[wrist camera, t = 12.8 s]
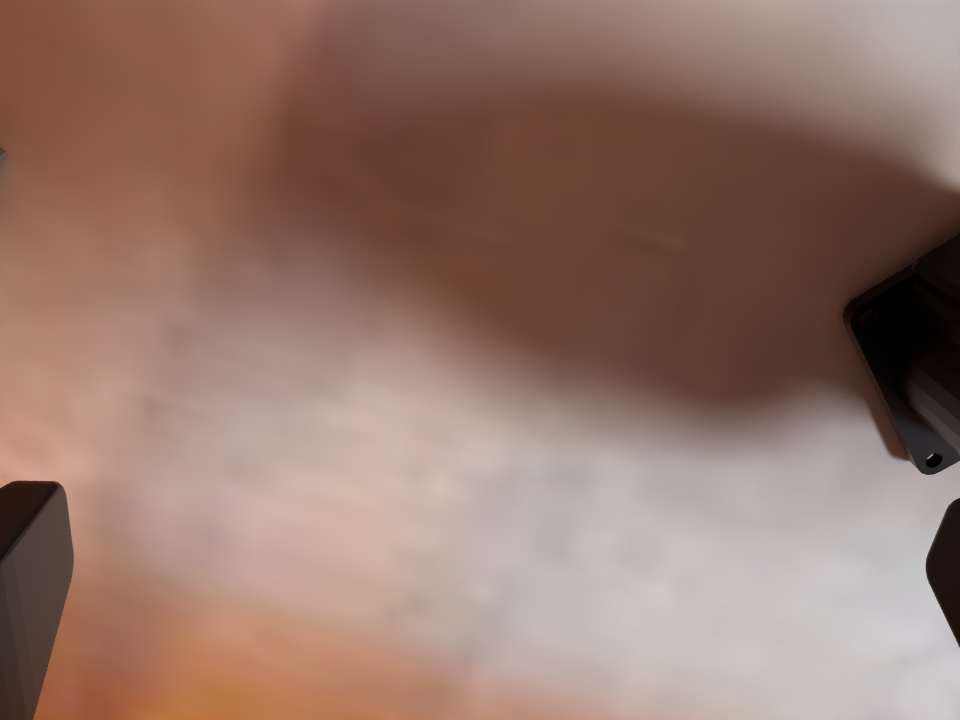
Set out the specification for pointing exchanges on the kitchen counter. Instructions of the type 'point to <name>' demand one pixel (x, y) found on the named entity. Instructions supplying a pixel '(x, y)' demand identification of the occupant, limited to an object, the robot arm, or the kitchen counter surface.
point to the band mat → (1, 156)
